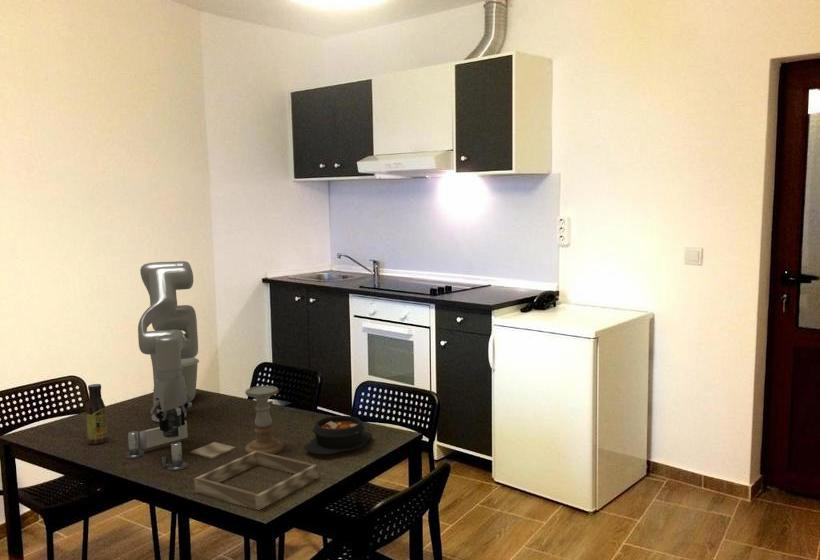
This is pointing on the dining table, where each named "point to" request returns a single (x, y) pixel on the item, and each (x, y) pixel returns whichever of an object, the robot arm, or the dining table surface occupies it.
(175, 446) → the gate posts
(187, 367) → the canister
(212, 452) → the coaster
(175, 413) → the pill bottle
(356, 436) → the casserole
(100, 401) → the sauce bottle
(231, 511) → the dining table surface
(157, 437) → the gate
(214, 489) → the square wooden frame
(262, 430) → the candle holder
